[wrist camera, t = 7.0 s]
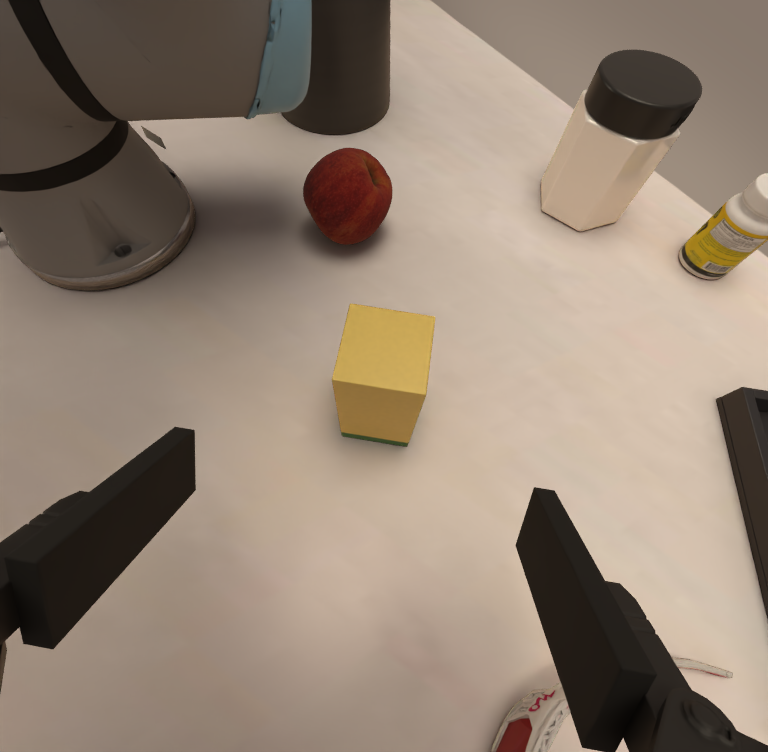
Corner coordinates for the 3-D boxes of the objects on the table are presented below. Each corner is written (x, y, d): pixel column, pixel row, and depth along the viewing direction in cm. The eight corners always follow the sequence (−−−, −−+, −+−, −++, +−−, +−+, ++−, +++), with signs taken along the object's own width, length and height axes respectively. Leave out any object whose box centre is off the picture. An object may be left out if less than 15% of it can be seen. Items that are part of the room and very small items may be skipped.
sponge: (341, 436, 29) (331, 379, 20) (353, 377, 32) (349, 302, 23) (407, 447, 29) (426, 395, 20) (415, 387, 32) (435, 316, 22)
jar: (619, 239, 40) (715, 117, 29) (539, 226, 40) (604, 101, 29) (611, 180, 44) (693, 53, 33) (538, 169, 44) (595, 39, 33)
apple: (376, 269, 37) (379, 196, 29) (297, 249, 37) (281, 174, 30) (396, 214, 40) (403, 137, 33) (323, 197, 40) (314, 117, 33)
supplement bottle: (699, 238, 40) (777, 162, 33) (736, 270, 39) (827, 199, 31) (666, 253, 39) (739, 179, 32) (702, 287, 37) (788, 217, 30)
